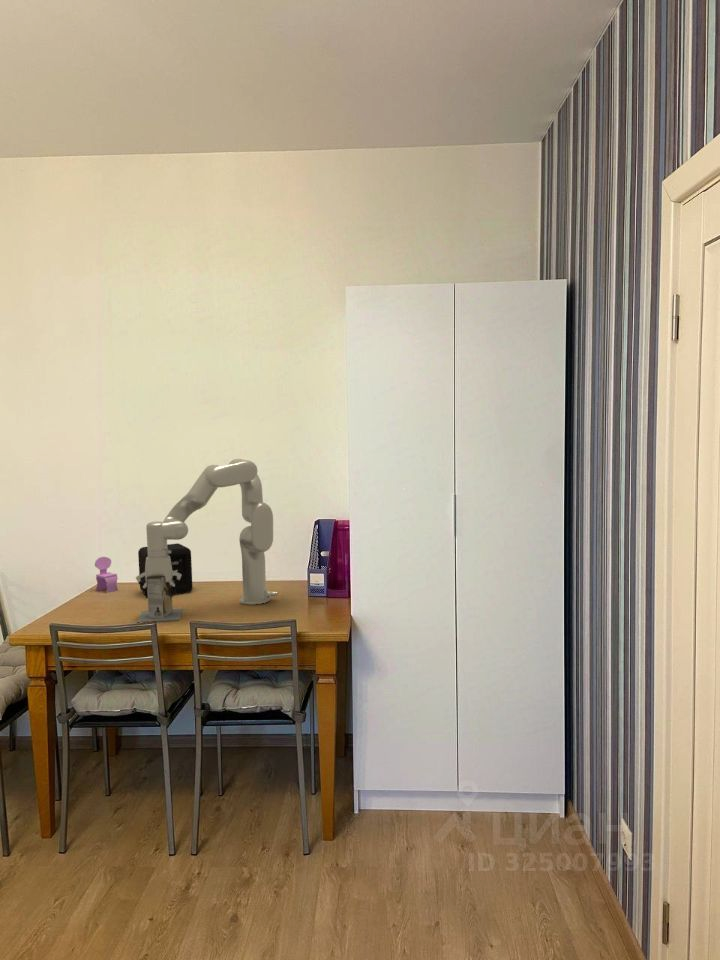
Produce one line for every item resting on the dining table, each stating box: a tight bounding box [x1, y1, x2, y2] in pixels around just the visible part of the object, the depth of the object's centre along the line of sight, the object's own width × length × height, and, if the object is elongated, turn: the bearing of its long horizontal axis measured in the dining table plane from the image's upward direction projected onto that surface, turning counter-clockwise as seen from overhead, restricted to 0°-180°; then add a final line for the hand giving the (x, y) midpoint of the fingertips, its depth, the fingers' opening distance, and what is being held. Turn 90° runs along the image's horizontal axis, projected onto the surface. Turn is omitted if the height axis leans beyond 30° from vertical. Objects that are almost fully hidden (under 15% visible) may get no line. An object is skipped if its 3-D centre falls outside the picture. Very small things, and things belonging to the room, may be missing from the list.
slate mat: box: [136, 608, 184, 624], centre depth 310 cm, size 16×16×1 cm
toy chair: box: [94, 556, 119, 594], centre depth 354 cm, size 8×9×15 cm
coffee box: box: [147, 576, 174, 618], centre depth 309 cm, size 9×6×16 cm
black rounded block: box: [137, 542, 193, 595], centre depth 348 cm, size 20×15×20 cm
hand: (159, 596), depth 309 cm, fingers open, 9 cm apart
